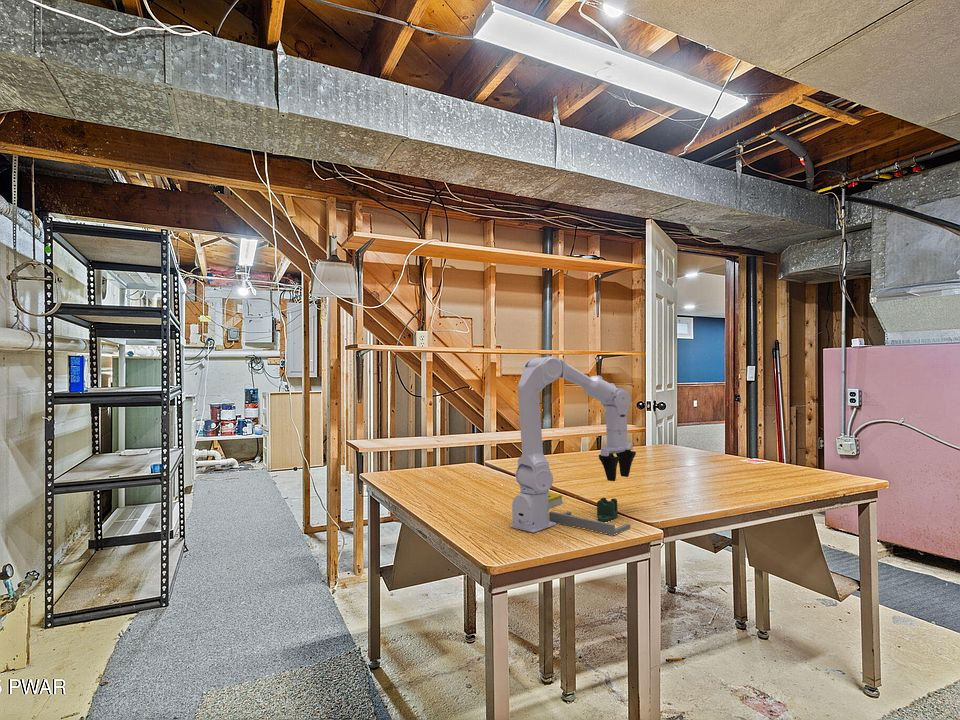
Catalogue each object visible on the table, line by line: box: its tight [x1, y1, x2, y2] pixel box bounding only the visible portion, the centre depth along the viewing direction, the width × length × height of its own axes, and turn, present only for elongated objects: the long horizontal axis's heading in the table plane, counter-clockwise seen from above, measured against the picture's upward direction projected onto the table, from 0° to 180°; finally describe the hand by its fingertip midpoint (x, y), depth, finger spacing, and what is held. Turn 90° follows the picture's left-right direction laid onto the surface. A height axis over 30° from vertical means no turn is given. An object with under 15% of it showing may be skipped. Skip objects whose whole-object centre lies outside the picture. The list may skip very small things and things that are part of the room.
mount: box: [596, 497, 619, 523], centre depth 139 cm, size 11×4×5 cm, turn 151°
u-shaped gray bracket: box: [549, 511, 631, 536], centre depth 133 cm, size 8×19×2 cm, turn 45°
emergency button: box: [548, 492, 567, 510], centre depth 154 cm, size 9×4×15 cm
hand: (618, 478), depth 144 cm, fingers open, 7 cm apart
